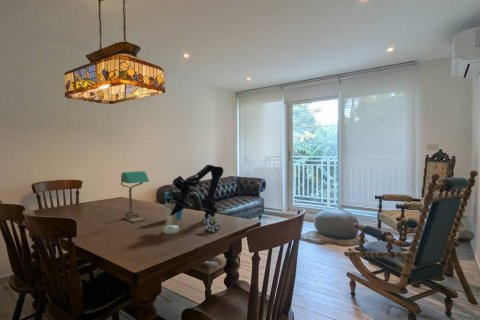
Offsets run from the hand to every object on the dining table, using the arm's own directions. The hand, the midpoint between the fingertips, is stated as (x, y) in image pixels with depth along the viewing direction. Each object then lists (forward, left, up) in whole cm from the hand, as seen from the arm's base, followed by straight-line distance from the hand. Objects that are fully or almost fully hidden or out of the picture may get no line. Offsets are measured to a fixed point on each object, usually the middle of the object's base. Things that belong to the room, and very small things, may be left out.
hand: (169, 214), depth 165 cm
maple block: (-1, -1, -7) cm, 7 cm away
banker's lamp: (+40, -21, -11) cm, 47 cm away
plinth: (-1, -1, -11) cm, 11 cm away
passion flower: (-24, -9, -11) cm, 28 cm away
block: (+12, -28, -11) cm, 33 cm away
